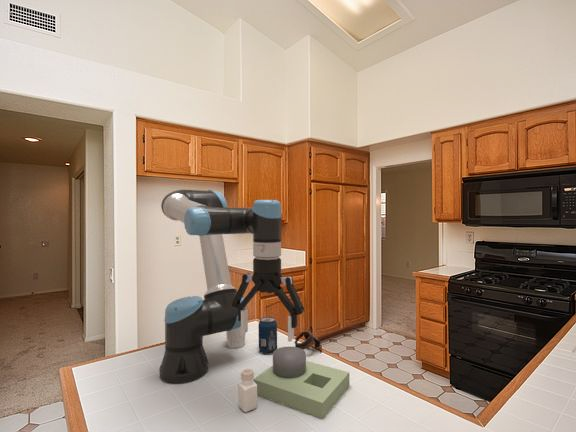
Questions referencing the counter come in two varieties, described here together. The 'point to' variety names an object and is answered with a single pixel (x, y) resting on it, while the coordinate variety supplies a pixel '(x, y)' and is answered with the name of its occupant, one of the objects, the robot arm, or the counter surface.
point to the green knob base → (301, 382)
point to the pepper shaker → (247, 391)
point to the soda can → (267, 335)
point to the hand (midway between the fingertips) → (267, 336)
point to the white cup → (235, 338)
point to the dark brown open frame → (308, 340)
